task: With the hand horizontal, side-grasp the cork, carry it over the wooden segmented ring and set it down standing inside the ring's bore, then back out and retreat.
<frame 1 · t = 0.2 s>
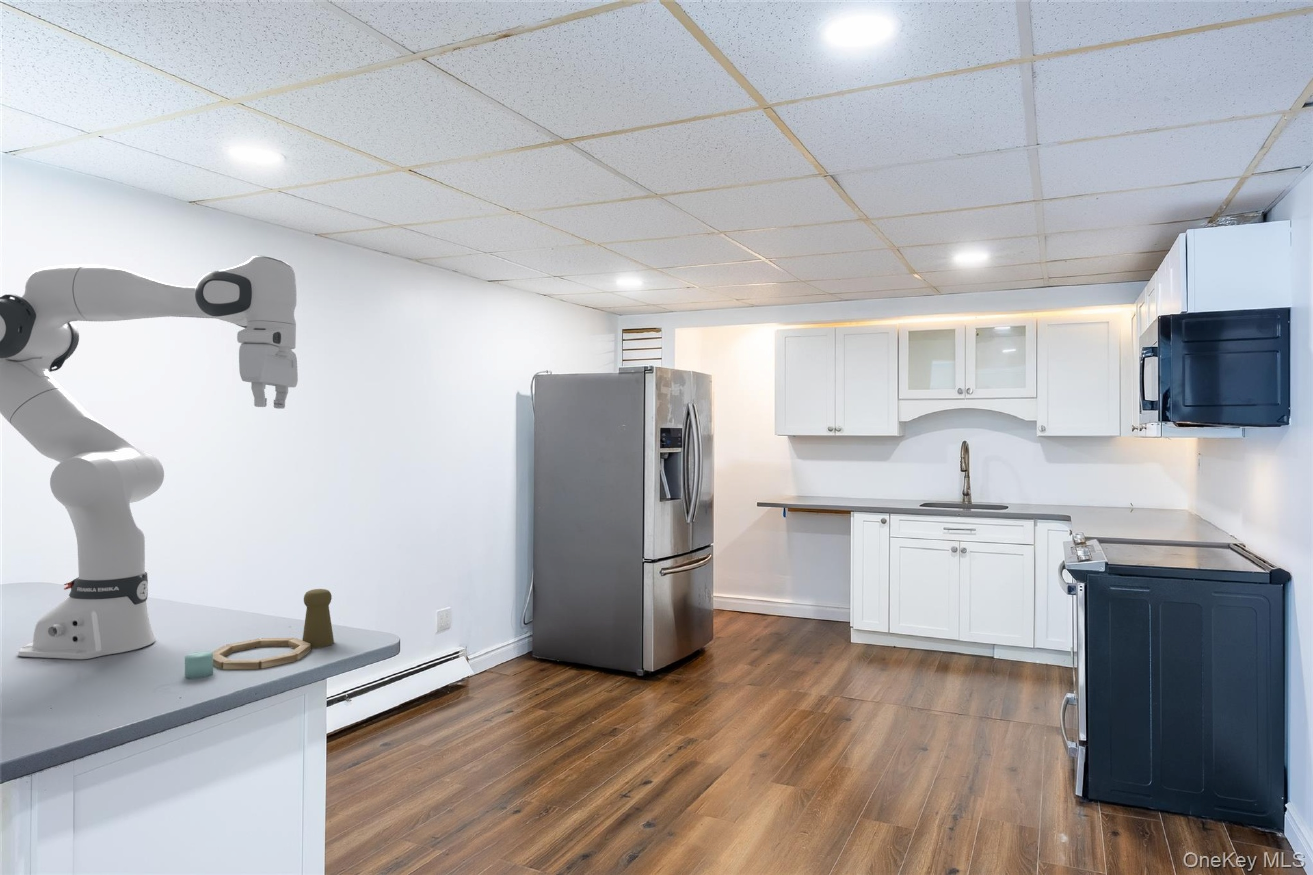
hand: (270, 407, 163), 48 cm above the counter, tool pointing down, fingers open, 8 cm apart
wooden segmented ring: (260, 655, 156), on the counter
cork: (318, 644, 165), on the counter
loose bead: (199, 674, 145), on the counter
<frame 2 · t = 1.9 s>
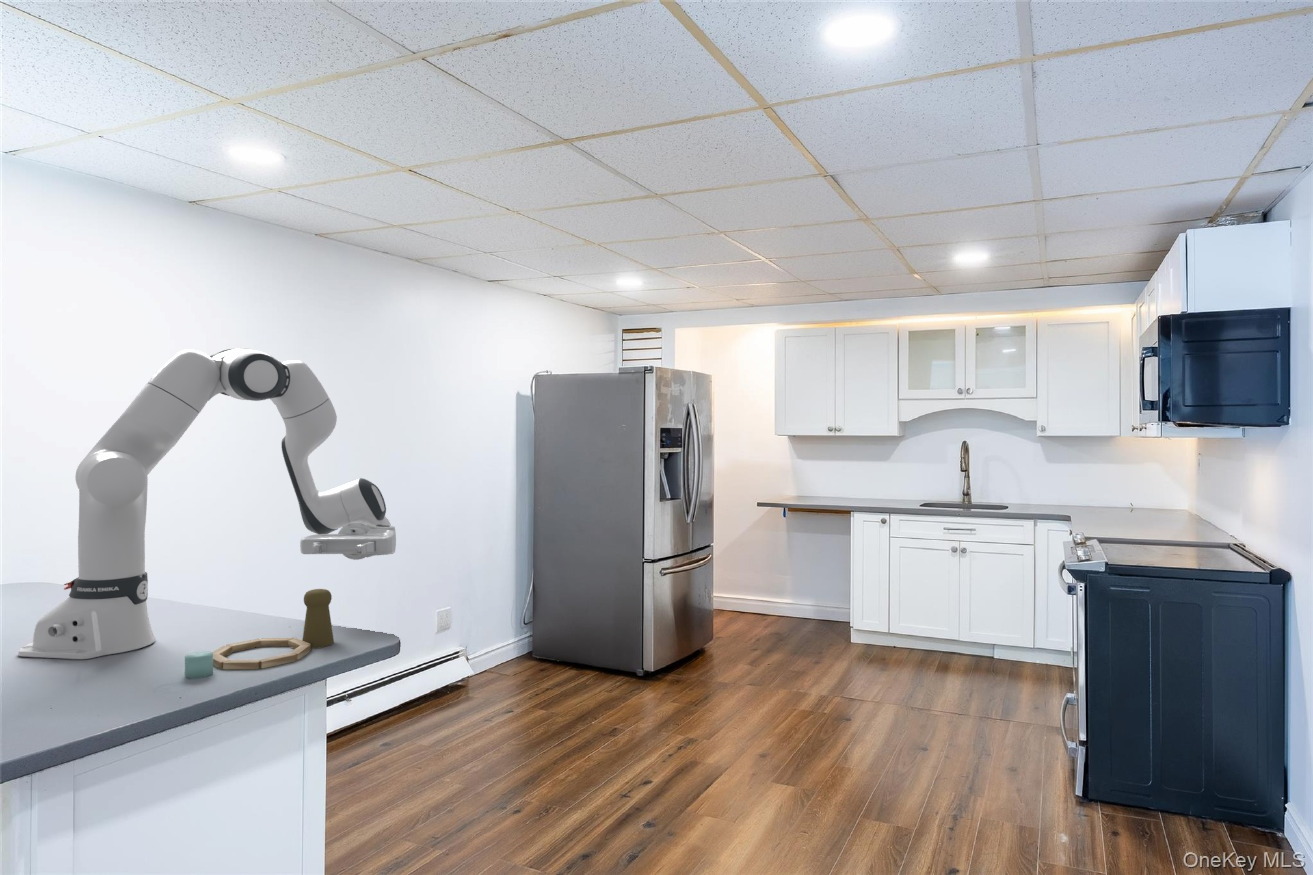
hand: (337, 549, 177), 17 cm above the counter, tool horizontal, fingers open, 8 cm apart
nothing on the counter moved.
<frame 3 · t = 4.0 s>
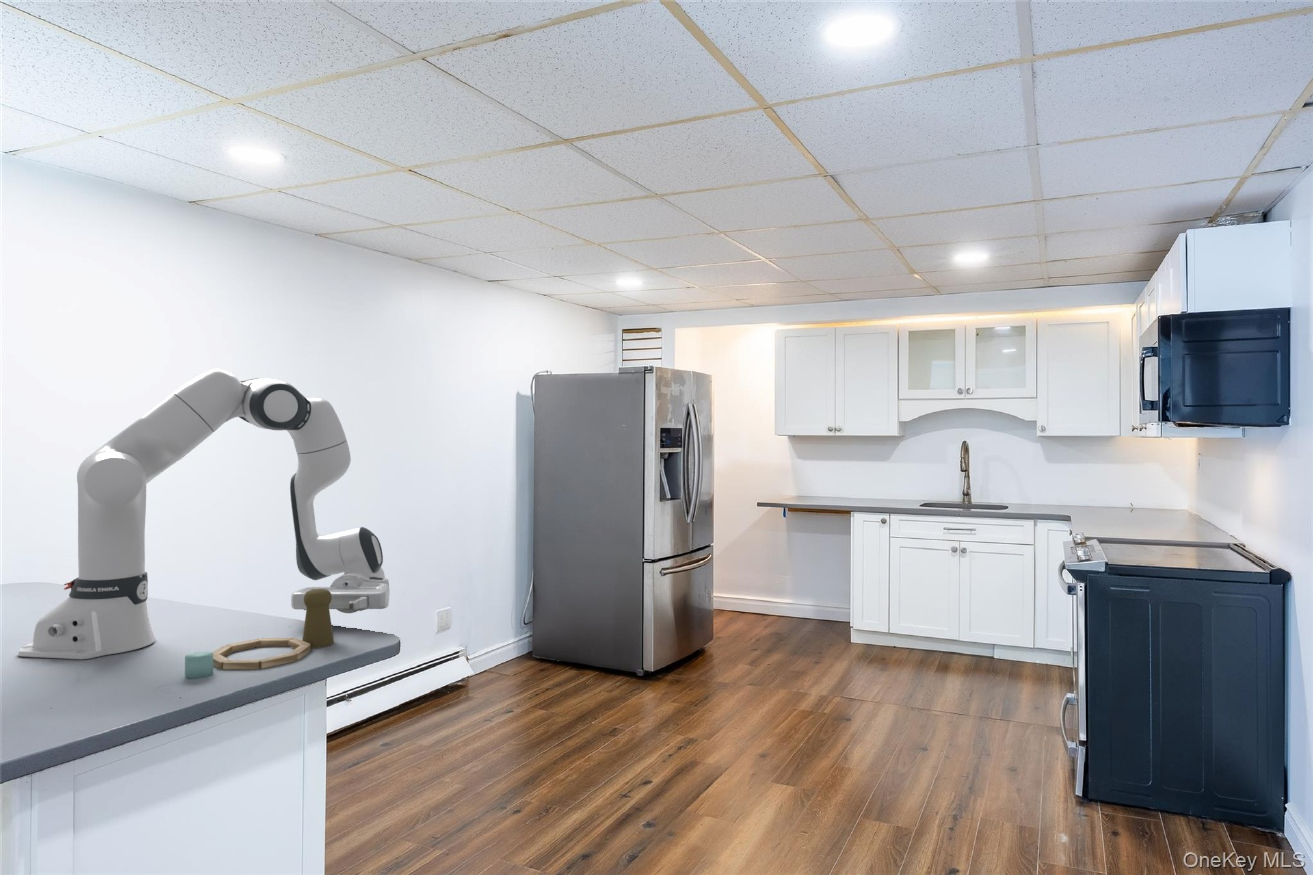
hand: (329, 606, 172), 6 cm above the counter, tool horizontal, fingers open, 8 cm apart
nothing on the counter moved.
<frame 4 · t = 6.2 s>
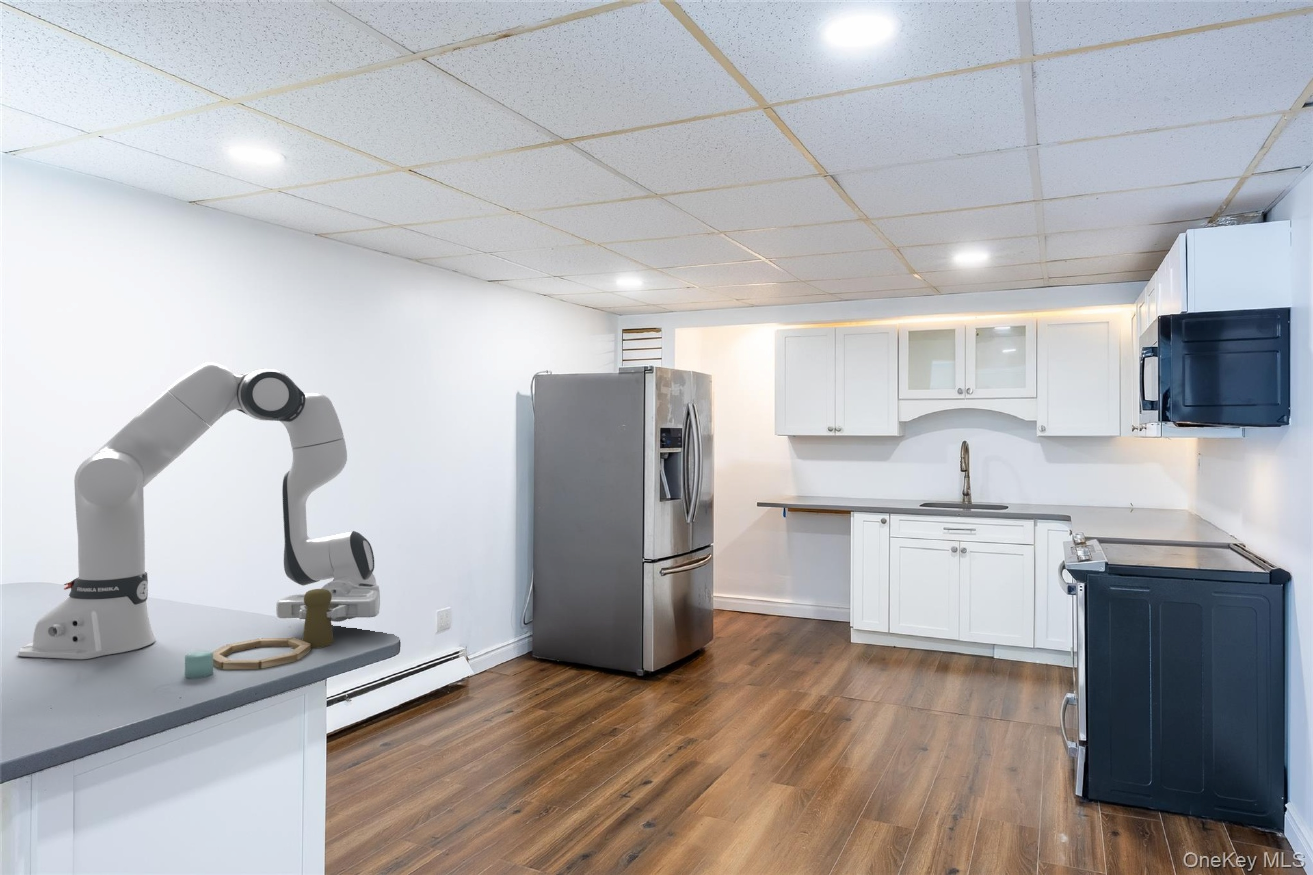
hand: (316, 615, 164), 6 cm above the counter, tool horizontal, fingers closed on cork, 4 cm apart
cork: (318, 644, 165), on the counter, touching gripper
everything else where it was.
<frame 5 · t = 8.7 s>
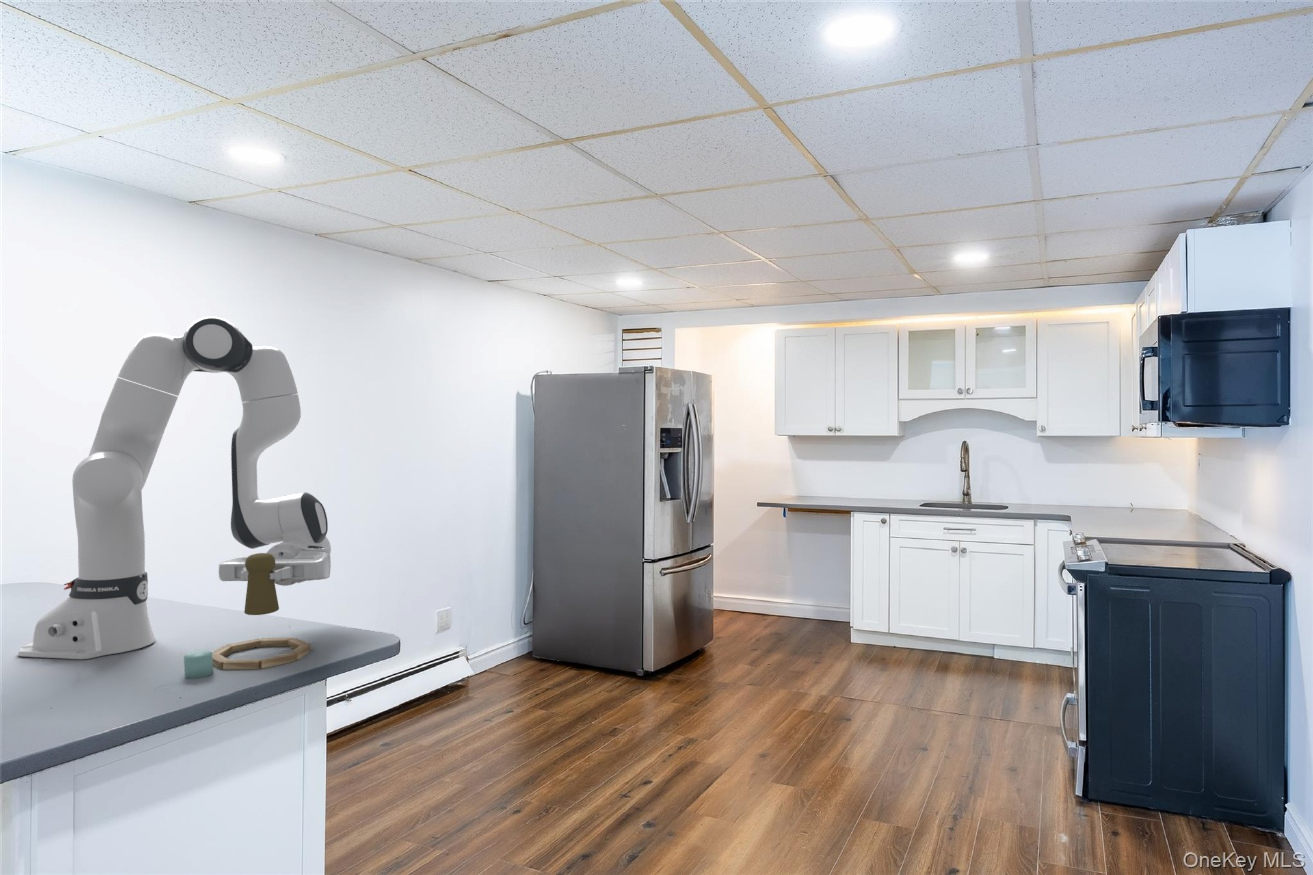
hand: (259, 576, 155), 15 cm above the counter, tool horizontal, fingers closed on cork, 4 cm apart
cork: (261, 611, 157), point 8 cm above the counter, touching gripper
everything else where it was.
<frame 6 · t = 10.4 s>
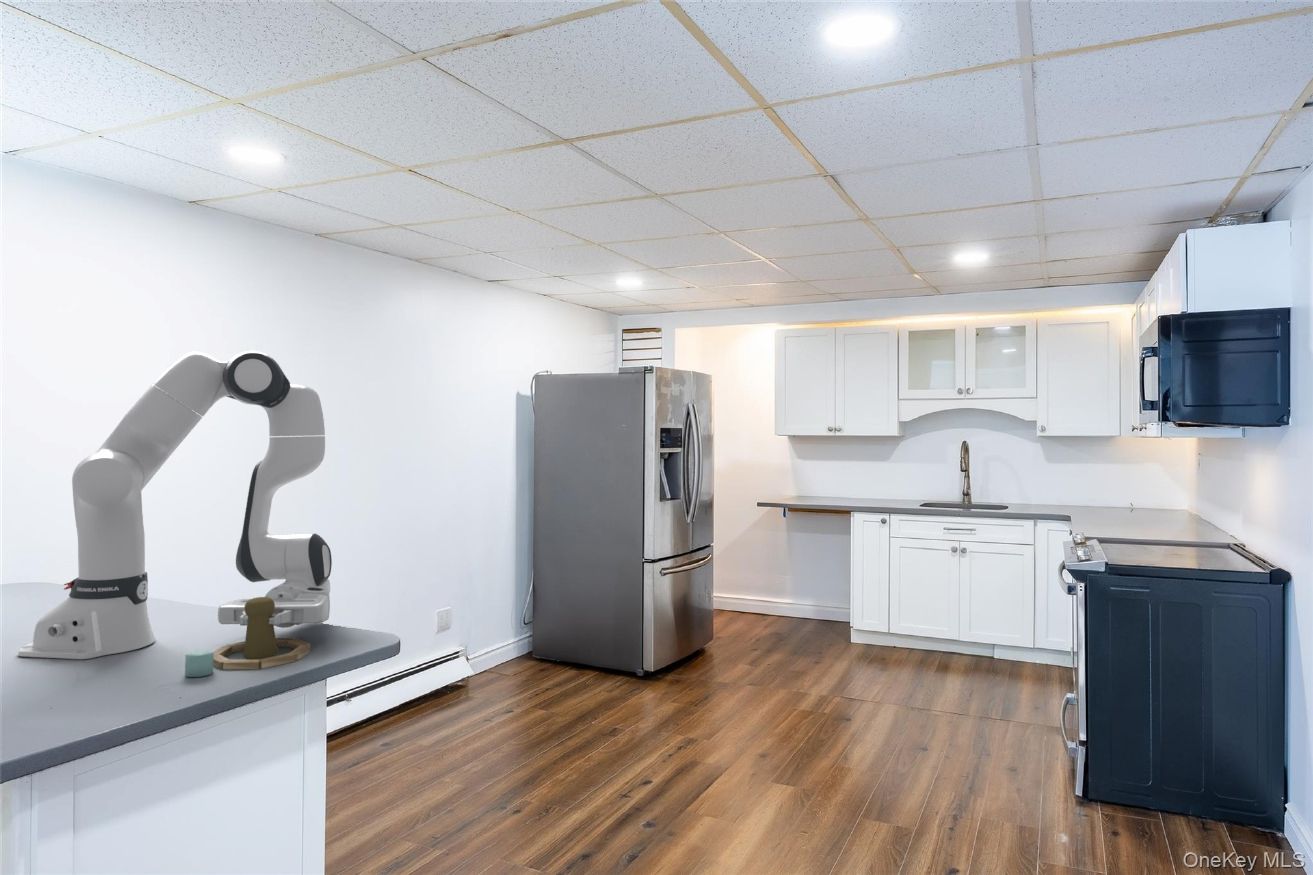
hand: (258, 621, 155), 7 cm above the counter, tool horizontal, fingers closed on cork, 4 cm apart
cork: (260, 655, 157), resting in wooden segmented ring, touching gripper
everything else where it was.
when the fingers open (7 cm above the counter, at t = 10.4 s): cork stays where it is, resting in wooden segmented ring.
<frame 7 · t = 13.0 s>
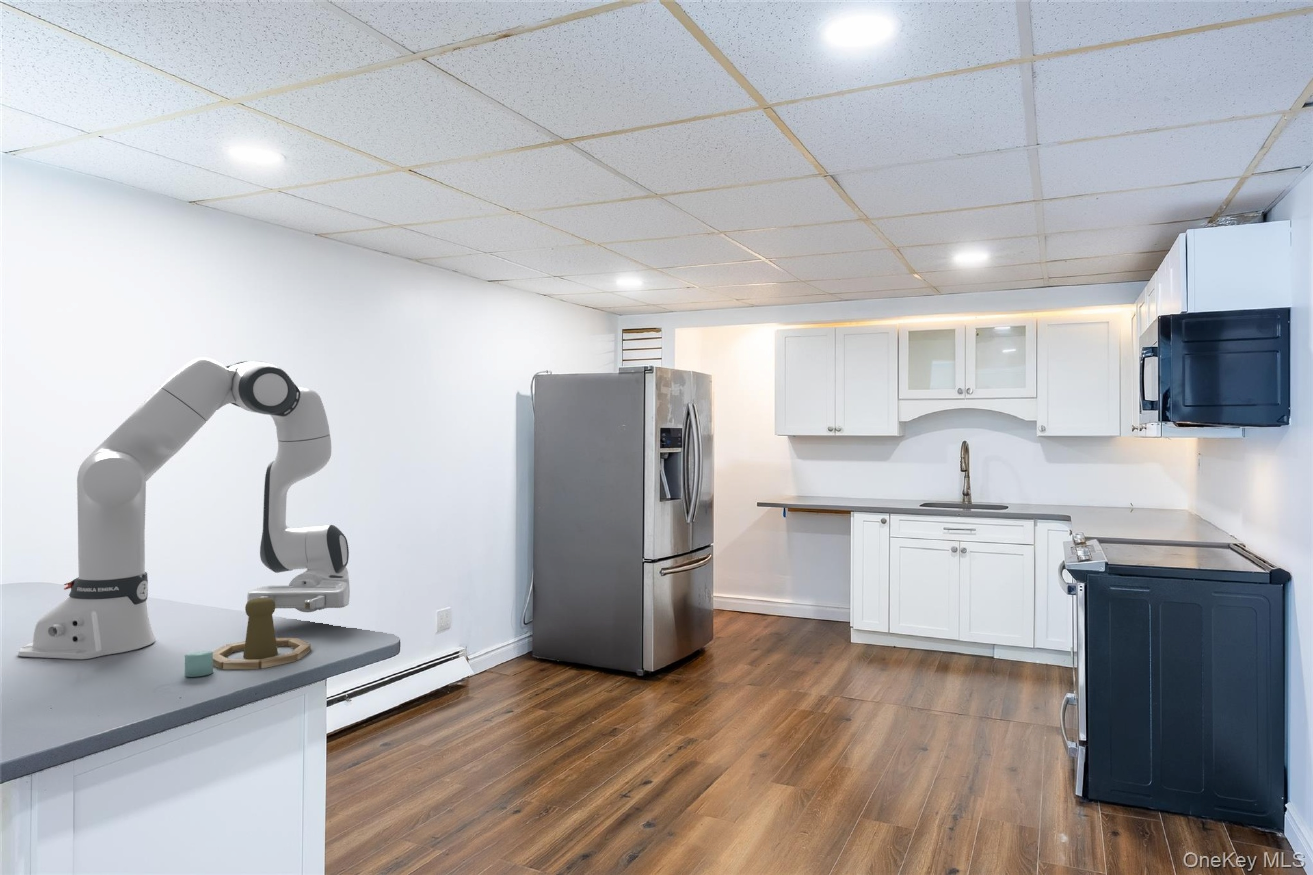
hand: (285, 605, 168), 7 cm above the counter, tool horizontal, fingers open, 8 cm apart
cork: (260, 656, 157), resting in wooden segmented ring
everything else where it was.
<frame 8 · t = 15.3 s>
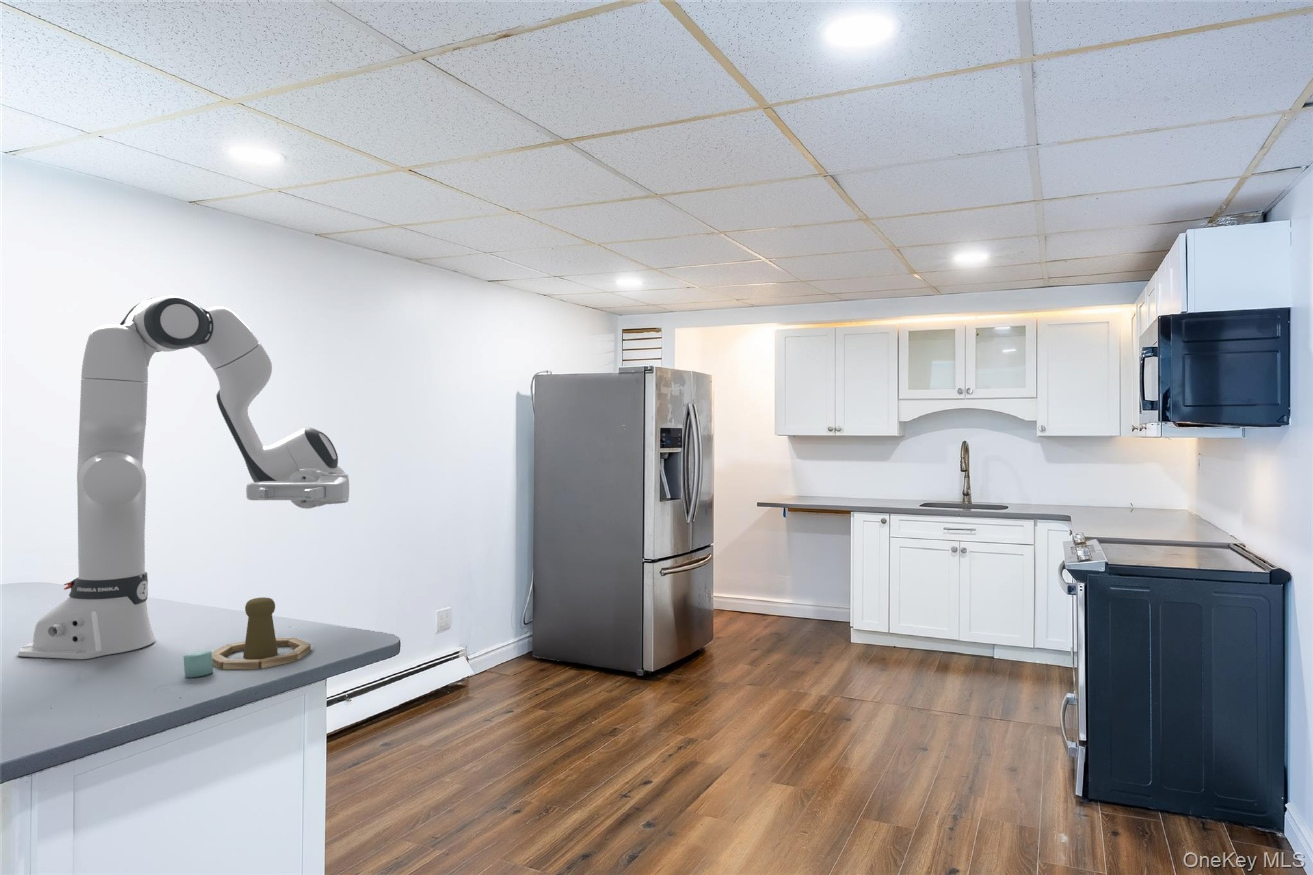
hand: (284, 494, 168), 30 cm above the counter, tool horizontal, fingers open, 8 cm apart
nothing on the counter moved.
at the end: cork 0.4 cm from the wooden segmented ring (horizontally); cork tilted 0°; the gripper is holding nothing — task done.
